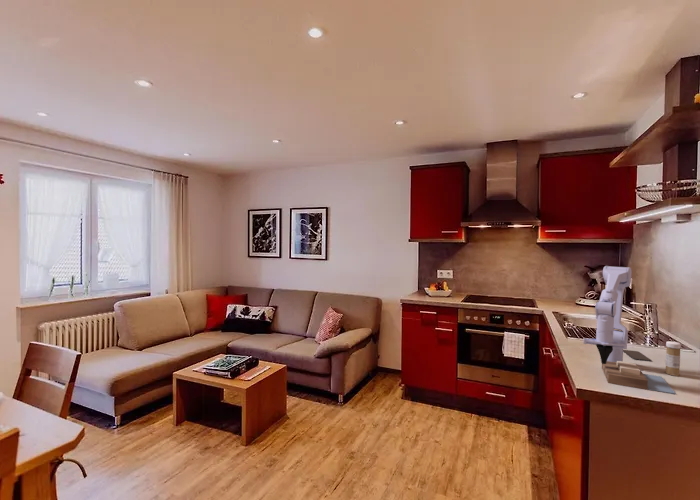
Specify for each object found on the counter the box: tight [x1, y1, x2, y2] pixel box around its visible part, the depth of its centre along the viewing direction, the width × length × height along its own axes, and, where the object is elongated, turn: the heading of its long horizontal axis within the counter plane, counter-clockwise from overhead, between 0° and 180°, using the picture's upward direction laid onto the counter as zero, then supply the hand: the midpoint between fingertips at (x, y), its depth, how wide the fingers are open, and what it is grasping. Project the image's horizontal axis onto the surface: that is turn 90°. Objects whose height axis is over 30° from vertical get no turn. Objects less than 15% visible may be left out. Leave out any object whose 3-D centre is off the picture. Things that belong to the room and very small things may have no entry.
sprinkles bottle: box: [664, 340, 682, 377], centre depth 147 cm, size 5×5×13 cm
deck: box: [601, 361, 648, 390], centre depth 143 cm, size 18×12×4 cm, turn 151°
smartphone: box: [623, 349, 653, 363], centre depth 170 cm, size 7×1×15 cm
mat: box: [643, 373, 677, 395], centre depth 138 cm, size 18×8×1 cm, turn 151°
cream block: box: [617, 361, 641, 376], centre depth 142 cm, size 9×6×2 cm, turn 151°
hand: (603, 363), depth 146 cm, fingers closed
